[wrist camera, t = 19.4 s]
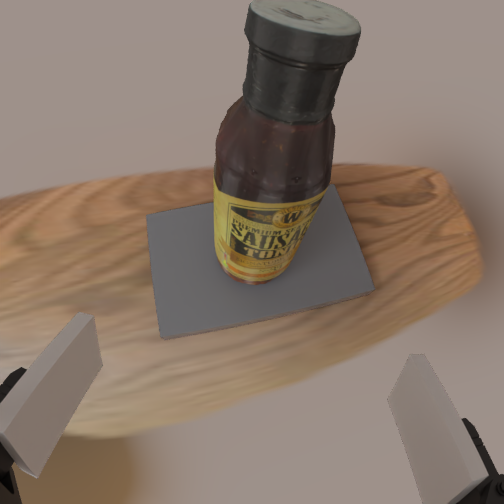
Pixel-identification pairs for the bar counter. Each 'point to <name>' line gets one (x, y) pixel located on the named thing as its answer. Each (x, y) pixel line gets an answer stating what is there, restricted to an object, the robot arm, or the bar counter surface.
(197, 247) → the gray rectangular mat
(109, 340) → the bar counter surface
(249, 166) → the sauce bottle
